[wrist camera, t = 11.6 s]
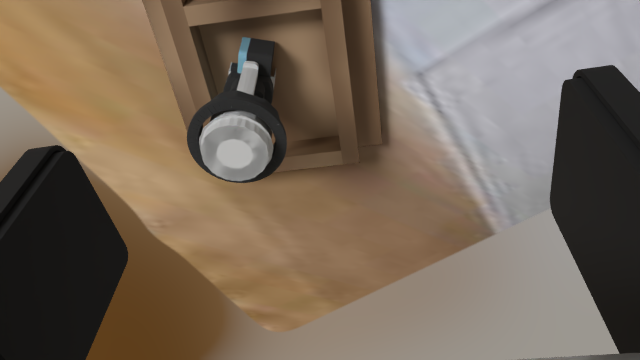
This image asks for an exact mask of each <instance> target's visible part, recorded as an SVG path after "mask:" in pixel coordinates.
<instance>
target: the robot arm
mask: <svg viewBox="0 0 640 360" xmlns="http://www.w3.org/2000/svg"><path fill="white" fill-rule="evenodd" d="M550 205H551V210H552V214H553V216H554V218H555V221H556V223H557V225H558V227H559V229H560V231H561V233H562V235H563V237H564V239H565V241H566V243H567V245H568V247H569V249H570V251H571V254H572V256H573V258H574V260H575V262H576V264H577V266H578V268H579V270H580V272H581V274H582V276H583V278H584V281H585V283H586V285H587V287H588V289H589V291H590V293H591V295H592V297H593V299H594V301H595V303H596V305H597V308H598V310H599V312H600V314H601V316H602V318H603V320H604V322H605V324H606V326H607V328H608V330H609V332H610V334H611V337H612V339H613V341H614V343H615V345H616V347H617V349H618V351H619V353H620V354H607V355H590V356H572V357H554V358H537V359H520V360H640V92H639V91H638V90H637V89H636V88H635V87H634V86H633V85H632V84H631V83H630V82H629V81H628V79H627V78H626V77H625V76H624V75H623V74H622V73H621V72H620V71H619V70H618V69H617V68H616V67H615V66H613V65H609V66H602V67H595V68H588V69H581V70H577V71H576V72H575V73H574V76H573V79H569V80H565V81H564V83H563V86H562V92H561V101H560V110H559V120H558V129H557V138H556V147H555V156H554V165H553V174H552V183H551V192H550ZM127 261H128V251H127V247H126V245H125V243H124V241H123V239H122V238H121V236H120V234H119V232H118V230H117V229H116V227H115V225H114V223H113V222H112V220H111V218H110V216H109V215H108V213H107V211H106V209H105V207H104V206H103V204H102V202H101V201H100V199H99V197H98V195H97V193H96V192H95V190H94V188H93V186H92V184H91V183H90V181H89V179H88V177H87V176H86V174H85V172H84V170H83V169H82V167H81V165H80V164H79V161H78V160H77V158H76V156H75V155H74V154H73V153H72V152H70V151H66V150H65V149H64V148H63V147H61V146H58V145H55V146H48V147H41V148H34V149H29V150H27V151H26V152H25V153H24V154H23V156H22V157H21V158H20V159H19V160H18V162H17V163H16V164H15V165H14V166H13V168H12V169H11V170H10V171H9V172H8V174H7V175H6V176H5V177H4V178H3V180H2V181H1V182H0V360H85V359H86V357H87V355H88V353H89V350H90V348H91V345H92V343H93V341H94V339H95V336H96V333H97V332H98V329H99V327H100V325H101V322H102V320H103V318H104V315H105V313H106V311H107V308H108V306H109V304H110V301H111V299H112V297H113V294H114V292H115V290H116V287H117V285H118V283H119V280H120V278H121V276H122V273H123V271H124V269H125V267H126V264H127Z"/></svg>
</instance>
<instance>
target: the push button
mask: <svg viewBox="0 0 640 360" xmlns="http://www.w3.org/2000/svg"><path fill="white" fill-rule="evenodd" d="M274 47H275V41H268V40H261V39H254V38H247V37H242V42H241V46H240V49H239V55H238V63H232V62H231V65H230V68H229V74H228V77H227V80H226V83H225V86H224V90H223V92H222V93H219V94H218V95H217V96H216V97H214V98H213V99H212V100H211V101H209V102H208V103H206V104H205V105H203V106H202V107H201V108H200V109H199V110H198V111H197V112H196V113H195V115H194V116H193V118H192V120H191V122H190V125H189V127H188V132H187V143H188V147H189V150H190V153H191V155H192V157H193V158H194V160H195V161H196V162H197V163H198V165H199V166H200V167H201V168H203V169H204V170H205V171H206V172H208V173H209V174H211V175H213V176H215V177H217V178H219V179H222V180H225V181H229V182H236V183H247V182H254V181H258V180H261V179H263V178H265V177H267V176H269V175H270V174H272V173H273V172H274V171H275V170H276V169H277V168H278V167H279V166H280V165H281V163H282V161H283V159H284V157H285V154H286V149H287V136H286V132H285V129H284V126H283V124H282V122H281V121H280V118H279V114H278V111H277V110H276V109H275V108H274V107H273V106H272V105H271V103H272V99H273V92H274V84H275V76H276V68H275V72H274V77H272V76H271V69H272V62H273V55H274ZM210 116H211V119H210V121H209V124H207V125H206V126H205V127H204V129H203V123H204V122H205V121H206V120H207V119H208V118H209V117H210ZM272 132H273V134H274V137H275V143H274V145H273V143H272V140H271V138H272Z"/></svg>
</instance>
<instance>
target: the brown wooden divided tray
mask: <svg viewBox="0 0 640 360" xmlns="http://www.w3.org/2000/svg"><path fill="white" fill-rule="evenodd" d="M142 1H143V4H144V7H145V10H146V13H147V16H148V19H149V21H150V24H151V27H152V30H153V33H154V36H155V39H156V42H157V45H158V48H159V51H160V53H161V56H162V59H163V62H164V65H165V68H166V71H167V74H168V77H169V80H170V83H171V85H172V88H173V91H174V94H175V97H176V100H177V103H178V106H179V109H180V112H181V115H182V117H183V120H184V123H185V126H186V129H187V132H188V127H189V125H190V122H191V120H192V118H193V116H194V115H195V113H196V112H197V111H198V110H199V109H200V108H201V107H202V106H203V105H205V104H206V103H208V102H209V101H211V100H212V99H213V98H214V97H216V96H217V95H218V94H219V93H222V92H223V90H224V86H225V83H226V80H227V77H228V74H229V68H230V65H231V62H232V63H238V55H239V49H240V46H241V42H242V37H247V38H254V39H261V40H268V41H275V47H274V55H273V62H272V69H271V76H272V77H274V72H275V68H276V76H275V84H274V92H273V99H272V103H271V105H272V106H273V107H274V108H275V109H276V110H277V111H278V114H279V118H280V121H281V122H282V124H283V126H284V129H285V132H286V136H287V149H286V154H285V157H284V159H283V161H282V163H281V165H280V166H279V167H278V168H277V169H276V170H275V171H274V172H281V171H290V170H299V169H308V168H316V167H325V166H334V165H343V164H352V163H360V162H359V152H358V147H363V146H371V145H380V144H382V137H381V124H380V112H379V100H378V88H377V75H376V63H375V51H374V39H373V26H372V14H371V2H370V0H142ZM210 119H211V116H210V117H209V118H208V119H207V120H206V121H205V122H204V123H203V129H204V127H205V126H206V125H207V124H209V121H210ZM271 140H272V143H273V145H274V143H275V137H274V134H273V132H272V138H271ZM218 179H219V178H218Z"/></svg>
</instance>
